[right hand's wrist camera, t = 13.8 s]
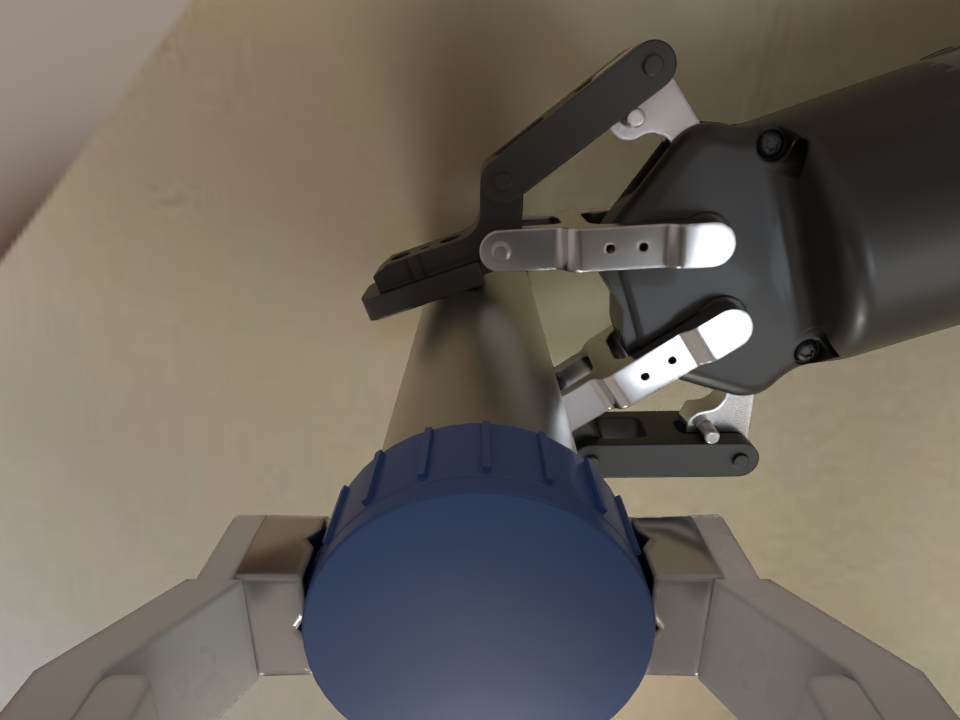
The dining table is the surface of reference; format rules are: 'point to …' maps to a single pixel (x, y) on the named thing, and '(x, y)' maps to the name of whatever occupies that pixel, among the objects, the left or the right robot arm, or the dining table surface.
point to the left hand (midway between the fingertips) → (400, 368)
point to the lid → (478, 584)
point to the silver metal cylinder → (481, 365)
